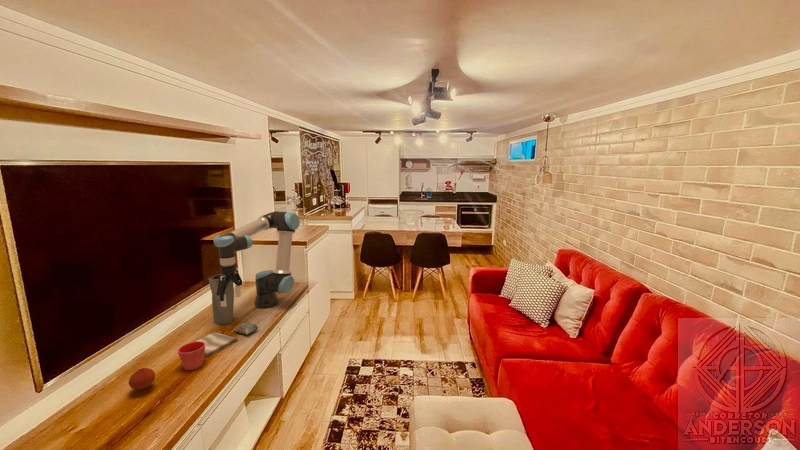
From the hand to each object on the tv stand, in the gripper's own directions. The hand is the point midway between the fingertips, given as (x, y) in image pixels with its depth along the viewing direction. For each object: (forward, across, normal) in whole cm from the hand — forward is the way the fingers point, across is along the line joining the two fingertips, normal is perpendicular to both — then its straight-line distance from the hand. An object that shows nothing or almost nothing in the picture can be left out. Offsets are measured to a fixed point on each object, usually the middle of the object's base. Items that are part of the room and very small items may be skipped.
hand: (231, 301), depth 179 cm
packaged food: (+22, -4, +1) cm, 23 cm away
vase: (+21, -14, -15) cm, 29 cm away
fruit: (+20, +46, -13) cm, 52 cm away
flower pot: (+21, +29, -3) cm, 36 cm away
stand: (+20, +11, -6) cm, 24 cm away
